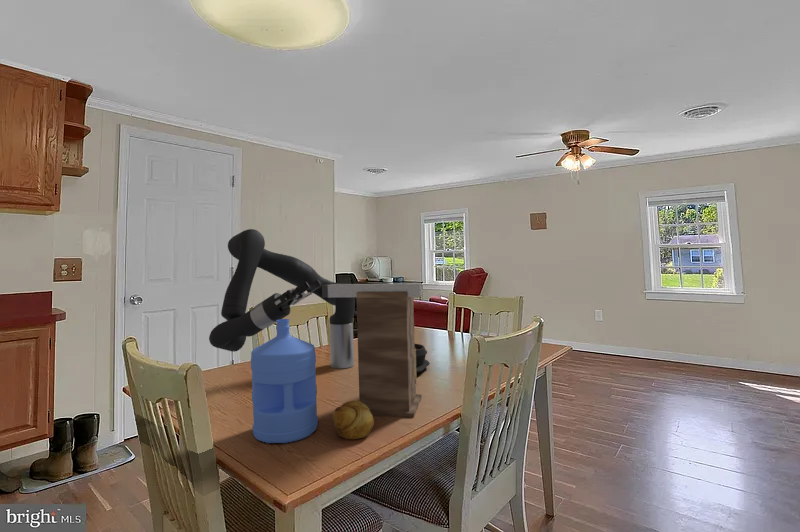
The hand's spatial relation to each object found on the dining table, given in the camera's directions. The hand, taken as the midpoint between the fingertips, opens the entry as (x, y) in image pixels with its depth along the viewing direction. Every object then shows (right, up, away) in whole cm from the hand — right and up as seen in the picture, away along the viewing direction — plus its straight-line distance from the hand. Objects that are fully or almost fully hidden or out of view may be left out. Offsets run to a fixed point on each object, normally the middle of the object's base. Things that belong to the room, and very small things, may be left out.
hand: (314, 283), depth 116 cm
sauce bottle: (+28, -35, +19) cm, 48 cm away
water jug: (-4, -37, -16) cm, 40 cm away
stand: (+22, -35, 0) cm, 41 cm away
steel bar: (+17, -4, -3) cm, 18 cm away
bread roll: (+14, -36, -17) cm, 42 cm away
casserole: (+27, -35, +38) cm, 58 cm away
